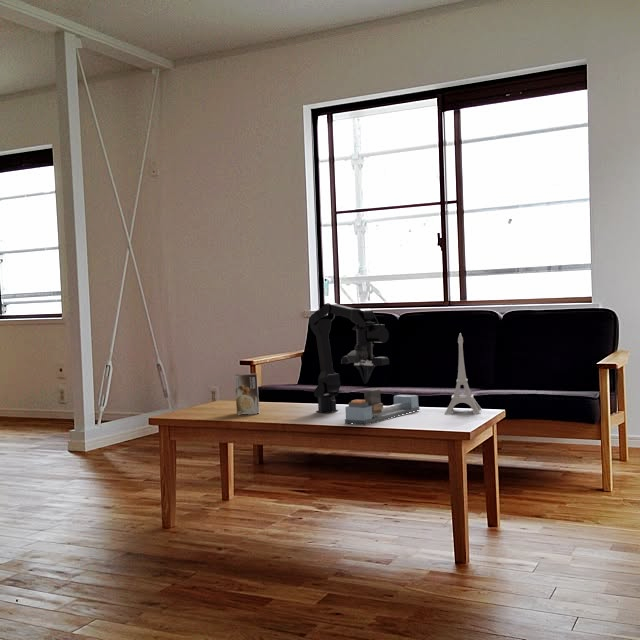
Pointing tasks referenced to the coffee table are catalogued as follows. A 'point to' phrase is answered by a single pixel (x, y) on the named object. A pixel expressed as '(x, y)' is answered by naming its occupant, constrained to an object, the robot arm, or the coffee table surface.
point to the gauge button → (357, 401)
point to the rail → (363, 412)
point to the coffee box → (247, 393)
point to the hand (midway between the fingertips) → (365, 383)
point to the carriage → (374, 400)
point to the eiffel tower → (462, 381)
